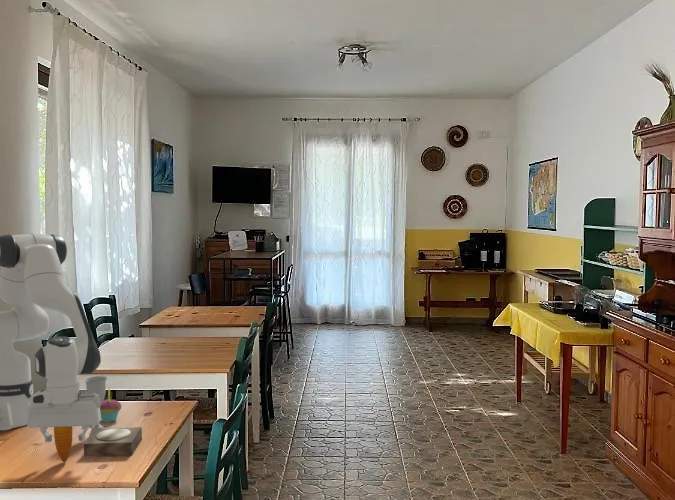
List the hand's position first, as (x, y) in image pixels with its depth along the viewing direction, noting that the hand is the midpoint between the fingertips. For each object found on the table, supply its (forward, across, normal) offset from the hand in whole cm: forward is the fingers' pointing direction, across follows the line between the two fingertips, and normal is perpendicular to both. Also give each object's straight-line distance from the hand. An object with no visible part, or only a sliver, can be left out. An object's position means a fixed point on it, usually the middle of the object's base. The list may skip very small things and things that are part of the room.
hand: (65, 441), depth 201 cm
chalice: (+7, -2, -26) cm, 27 cm away
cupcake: (+6, -2, -40) cm, 41 cm away
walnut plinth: (+6, -11, -11) cm, 17 cm away
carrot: (+7, +1, 0) cm, 7 cm away
